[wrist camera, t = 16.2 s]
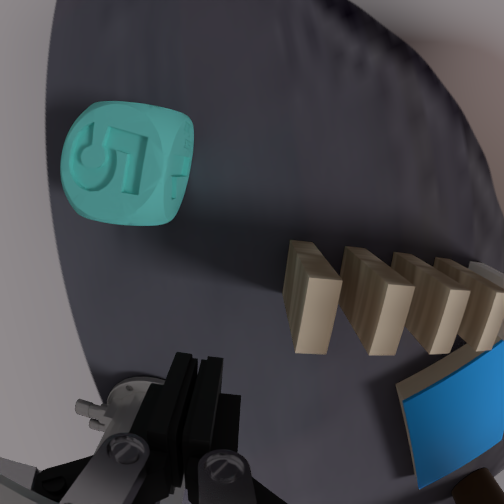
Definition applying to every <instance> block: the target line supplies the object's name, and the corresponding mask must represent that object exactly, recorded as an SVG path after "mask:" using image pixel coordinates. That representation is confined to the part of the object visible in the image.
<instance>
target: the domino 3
mask: <svg viewBox="0 0 504 504" xmlns="http://www.w3.org/2000/svg"><path fill="white" fill-rule="evenodd" d="M391 268H392V269H393V270H395V271H396V272H397V273H399V274H400V275H401V276H403V277H404V278H405V279H406V280H408V281H409V282H410V283H412V284H413V285H414V286H415V289H414V293H413V297H412V301H411V304H410V308H409V312H408V315H407V318H406V322H405V325H404V326H405V327H406V328H407V329H408V330H409V331H410V333H411V334H412V335H413V336H414V337H415V338H416V339H417V341H418V342H419V343H420V344H421V345H422V346H423V348H424V349H425V350H426V351H427V352H428V353H429V354H447V353H450V351H451V348H452V346H453V343H454V340H455V338H456V335H457V332H458V329H459V326H460V324H461V321H462V318H463V315H464V312H465V308H466V305H467V302H468V299H469V295H470V292H471V291H470V290H469V289H467V288H466V287H464V286H463V285H461V284H459V283H458V282H456V281H455V280H453V279H452V278H450V277H448V276H447V275H445V274H444V273H442V272H440V271H439V270H437V269H435V268H434V267H432V266H431V265H429V264H427V263H426V262H424V261H422V260H421V259H419V258H417V257H416V256H414V255H412V254H407V253H399V252H394V253H393V258H392V263H391Z"/></svg>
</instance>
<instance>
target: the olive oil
mask: <svg viewBox="0 0 504 504" xmlns="http://www.w3.org/2000/svg"><path fill="white" fill-rule="evenodd" d="M452 496H453V498H454V500H455V503H456V504H504V492H503V491H502V489H501V488H500V486H499V485H498V483H497V482H496V480H495V479H494V477H493V476H492V475H491V473H490V472H489V470H488V469H487V468H481V469H479V470H477V471H475V472H473V473H471V474H470V475H468V476H467V477H466V478H464V479H463V480H462V481H460V482H459V483H458V484H457V485H456V486H455V487H454V489H453V490H452Z"/></svg>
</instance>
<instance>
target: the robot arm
mask: <svg viewBox="0 0 504 504" xmlns="http://www.w3.org/2000/svg"><path fill="white" fill-rule="evenodd" d="M197 368H198V359H195V358H192V354H188V353H181V352H177V353H176V355H175V357H174V360H173V362H172V365H171V367H170V370H169V372H168V375H167V377H166V380H162V379H158V378H153V377H132V378H128V379H125V380H123V381H121V382H119V383H118V384H117V385H115V386H114V388H113V389H112V391H111V392H110V394H109V396H108V399H107V404H104V403H103V404H101V406H99V405H95V404H93V403H92V402H88V401H85V400H81V399H78V400H77V402H76V405H75V411H76V413H77V414H79V415H82V416H86V417H89V418H91V417H92V418H95V419H92V418H91V419H90V421H89V427H90V428H91V429H94V430H98V431H103V432H105V433H104V435H103V437H102V439H101V441H100V443H99V445H98V447H97V449H96V451H95V453H94V455H92V456H89V457H86V458H83V459H79V460H76V461H73V462H69V463H66V464H62V465H59V466H55V467H51V468H47V469H45V470H43V471H40V470H38V469H37V467H33V466H29V465H26V464H22V463H18V462H15V461H11V460H8V459H4V458H1V457H0V504H182V500H183V495H184V489H185V488H186V489H188V500H189V501H190V502H191V503H192V504H287V503H286V502H284V501H283V500H282V499H280V498H279V497H278V496H276V495H275V494H274V493H272V492H271V491H270V490H268V489H267V488H266V487H264V486H263V485H262V484H260V483H259V482H258V481H257V480H255V479H254V478H253V477H252V474H251V469H250V465H249V463H248V461H247V460H246V459H245V457H244V456H242V455H241V454H239V453H237V450H238V434H239V418H240V403H241V395H232V394H223V393H221V384H222V370H223V358H218V357H210V356H208V359H207V360H203V359H202V360H201V364H200V368H199V372H198V375H197ZM96 419H98V420H96Z"/></svg>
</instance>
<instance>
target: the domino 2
mask: <svg viewBox="0 0 504 504" xmlns="http://www.w3.org/2000/svg"><path fill="white" fill-rule="evenodd" d="M340 278H341V279H342V280H343V282H342V287H341V291H340V296H339V301H338V304H339V305H340V307H341V309H342V310H343V312H344V314H345V315H346V317H347V319H348V320H349V322H350V324H351V325H352V327H353V329H354V331H355V332H356V334H357V336H358V337H359V339H360V341H361V342H362V344H363V346H364V348H365V349H366V351H367V353H368V355H395V353H396V350H397V347H398V344H399V341H400V338H401V335H402V332H403V328H404V325H405V322H406V318H407V315H408V312H409V308H410V304H411V301H412V297H413V293H414V289H415V286H414V285H413V284H412V283H410V282H409V281H408V280H406V279H405V278H404V277H403V276H401V275H400V274H399V273H397V272H396V271H395V270H393V269H392V268H391V267H390V266H388V265H387V264H386V263H384V262H383V261H382V260H380V259H379V258H378V257H376V256H375V255H374V254H372V253H371V252H370V251H368V250H367V249H365V248H358V247H350V246H345V248H344V254H343V260H342V265H341V271H340Z"/></svg>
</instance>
